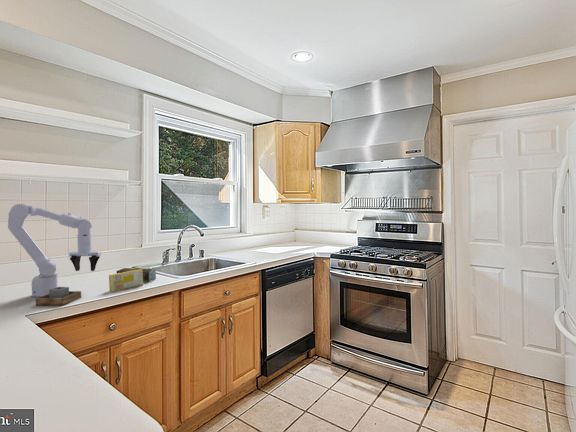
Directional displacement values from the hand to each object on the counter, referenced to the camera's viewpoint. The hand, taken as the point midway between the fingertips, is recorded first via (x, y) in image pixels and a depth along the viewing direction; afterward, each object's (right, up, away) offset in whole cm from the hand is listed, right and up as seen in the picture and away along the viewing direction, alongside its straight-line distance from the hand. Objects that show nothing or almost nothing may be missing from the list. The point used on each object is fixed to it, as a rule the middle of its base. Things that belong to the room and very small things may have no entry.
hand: (85, 270), depth 161 cm
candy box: (+19, -10, +3) cm, 22 cm away
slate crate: (+1, -9, -20) cm, 22 cm away
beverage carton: (+16, -9, +20) cm, 27 cm away
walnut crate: (+1, -10, -20) cm, 22 cm away
